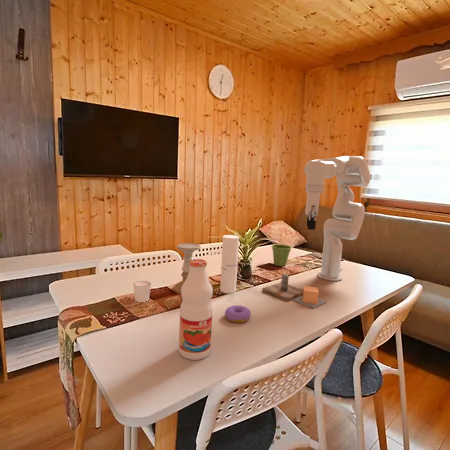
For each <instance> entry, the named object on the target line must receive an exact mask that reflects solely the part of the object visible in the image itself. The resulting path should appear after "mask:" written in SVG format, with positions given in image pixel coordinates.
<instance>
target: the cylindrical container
mask: <svg viewBox="0 0 450 450" xmlns="http://www.w3.org/2000/svg"><path fill="white" fill-rule="evenodd" d="M239 244H240V236H238V235H234V234H225V235H223V236H222V248H221V265H220V267H221V268H220V270H221V271H220V284H219V285H220V288H219V291H220V292H221V293H223V292H224V293H223V294H235V293H236V291H237V280H238V279H237V276H238V262H239V260H238V259H239Z"/></svg>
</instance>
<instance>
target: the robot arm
mask: <svg viewBox="0 0 450 450" xmlns="http://www.w3.org/2000/svg"><path fill="white" fill-rule="evenodd" d="M303 169H304V174H305V176H306V181H305V182H306V183H305V190H304V191H305V193H307V194H306V201H305V203H306V204H305V215H306V216H307V218H306V227H307V228H306V229H307V230H310V231H311V230H313V231H314V230H316V224H317V221H316V220H317V219H316V218H317V217H316V216H318V213H319V206H320V200H321V194H323V193H324V188H325V187H324V186H325V185H324V184H325V179H332V178H334V177H335V176H336V177H335V178H336V186H337V187H336V188H337V196H336V199H335V202H334V205H333V207H332V211H331V213H332V216H333V218H328V219H326V220H325V221H324V223H323V246H322V247H323V249H322V257H321V264H320V265H321V267H320V271H319V272H317V275H316V276H317V277H318V278H320V279H322V280H325V281H332V282H339V281H341V280H342V281H343V276H342V275H341V274H340V272H341V273H342V272H343V268H341V265H342V263H341V262H342V254H343V243H342V241H341V239H344V240H351V241H354V240H356V239H357V238H358V236H359V234H360V231H361V228H362V225H363V223H364V218H365V215H366V208H365V206H364V204H362V203H359V202H354V200H355V194H354V192H353V190H352V189H351V186H352V187H367V186H368V185H369V184H370V181H371V173H370V169H369V166H368V163H367V160H366V159H365V158H364V157H363V156H360V155H358V156H357V155H352V156H351V155H342V156H338V157H328V158H321V159H314V160H308V161H307V162H306V164H305V166H304V168H303Z"/></svg>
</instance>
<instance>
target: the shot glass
mask: <svg viewBox="0 0 450 450" xmlns="http://www.w3.org/2000/svg"><path fill="white" fill-rule="evenodd" d="M132 285H133V286H132V287H133V293H134V302H136V301H138V302H144V303H146V302H145V301H147V302H149V301H150V295H151V294H150V293H151V285H152V283H151V282H150V281H146V280H139V281H136V282H134V283H133V284H132ZM148 300H149V301H148ZM138 302H137V303H138Z"/></svg>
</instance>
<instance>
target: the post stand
mask: <svg viewBox="0 0 450 450" xmlns="http://www.w3.org/2000/svg"><path fill="white" fill-rule="evenodd" d="M289 277H290V276H289V275H288V274H284V273H283V274H282V275H281V282H278V283H274V284H272V285H268V286H264V287H262V288H261V290H262V293H265V294H268V295H270V296H272V297H275V298H278V299H280V300H283V301H285V302H290V301H293V299H295V298H298V297H300V296H303V289H302V288H300V287H296V286H293V285H290V284H289V279H290V278H289Z"/></svg>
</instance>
